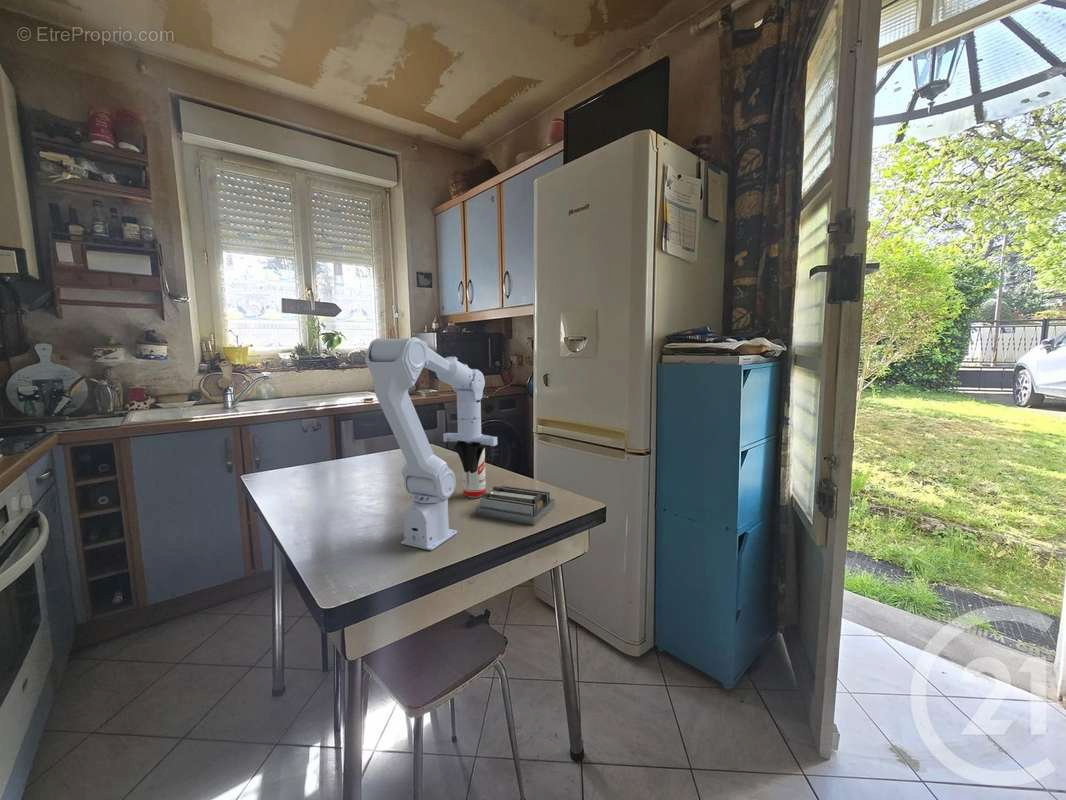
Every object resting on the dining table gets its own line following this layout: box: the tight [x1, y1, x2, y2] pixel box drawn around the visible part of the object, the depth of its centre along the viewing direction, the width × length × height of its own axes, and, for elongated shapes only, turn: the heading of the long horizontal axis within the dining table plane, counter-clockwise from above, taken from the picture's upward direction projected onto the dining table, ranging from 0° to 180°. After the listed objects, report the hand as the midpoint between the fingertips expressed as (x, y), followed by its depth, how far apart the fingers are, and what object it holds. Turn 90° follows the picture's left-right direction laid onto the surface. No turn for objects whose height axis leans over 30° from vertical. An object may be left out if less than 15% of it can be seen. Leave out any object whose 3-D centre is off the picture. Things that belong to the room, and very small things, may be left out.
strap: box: [489, 490, 536, 502], centre depth 108 cm, size 4×12×1 cm, turn 66°
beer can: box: [462, 447, 487, 499], centre depth 119 cm, size 6×6×16 cm
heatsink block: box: [474, 485, 556, 526], centre depth 108 cm, size 13×16×4 cm
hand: (470, 471), depth 107 cm, fingers closed
